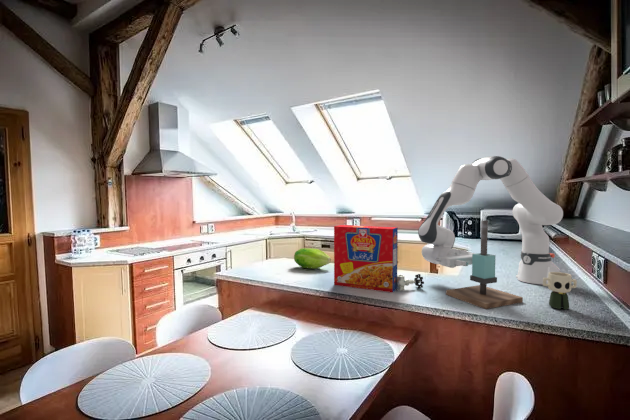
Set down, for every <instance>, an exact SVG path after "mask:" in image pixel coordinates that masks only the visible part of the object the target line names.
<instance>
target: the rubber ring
mask: <svg viewBox="0 0 630 420" xmlns="http://www.w3.org/2000/svg"><path fill="white" fill-rule="evenodd" d="M469 281H471V282H475V283H479V284H480V283H482V284H495V283H498V277H496V276H495V277H494V278H487V279H483V278H479V277H476V276H472V274H471V275H470V276H469Z"/></svg>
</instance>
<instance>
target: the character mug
mask: <svg viewBox="0 0 630 420" xmlns="http://www.w3.org/2000/svg"><path fill="white" fill-rule="evenodd" d="M572 276H573V275H572V274H570V273H566V272H561V271H560V272H549V273H548V278H543V285H542V286H543V287H547V288H548V290H550V291H551V292H550V295H549V300H548V305H549V307H551V308H553V309H558V310H561V308H562V309H563V310H569V309H570V301H569V295H568V294H567V293H570V292H571V291H572V289H576V288H577V287H578V286H577V283H578V281H577V279H575V278H572ZM546 280H548V284H546ZM572 282H573V285H572Z"/></svg>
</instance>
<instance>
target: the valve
mask: <svg viewBox="0 0 630 420" xmlns="http://www.w3.org/2000/svg"><path fill="white" fill-rule="evenodd" d="M414 276H415V278H414V279H408V278H405V275H404V274H397V280H396V285H397V289H396V291H399V292H404V291H405V287H407V286H410V285H413V284H414V285H415V286H417V289H423V288H424V284H425V282H424V281H423V280H424V276H421V273H418V274H415V275H414Z"/></svg>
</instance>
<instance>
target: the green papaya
mask: <svg viewBox="0 0 630 420" xmlns="http://www.w3.org/2000/svg"><path fill="white" fill-rule="evenodd" d="M293 259H294V263H296V264H297V265H298V266H299V267H301V268H302V269H310V270H315V269H320V268H322V267H325V266H327V265H329V264H331V261H332V257H330V255H328V254H327V253H325V251H323V250H320V249H318V248H306V247H305V248H303V247H301V248H299V249H298V250H296V251H295V252H294V255H293Z"/></svg>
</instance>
